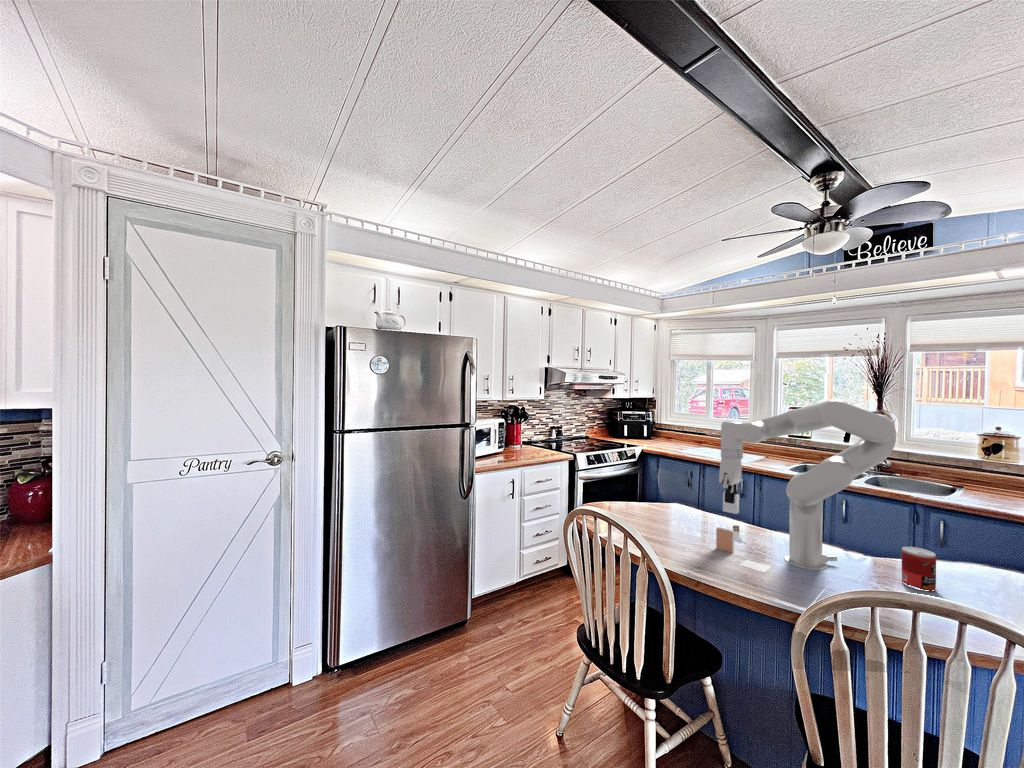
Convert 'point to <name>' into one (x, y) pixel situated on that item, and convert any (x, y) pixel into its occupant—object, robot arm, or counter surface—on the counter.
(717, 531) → the tile
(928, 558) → the canned food
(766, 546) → the counter surface
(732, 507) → the steel turner
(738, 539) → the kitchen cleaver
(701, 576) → the counter surface
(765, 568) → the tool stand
